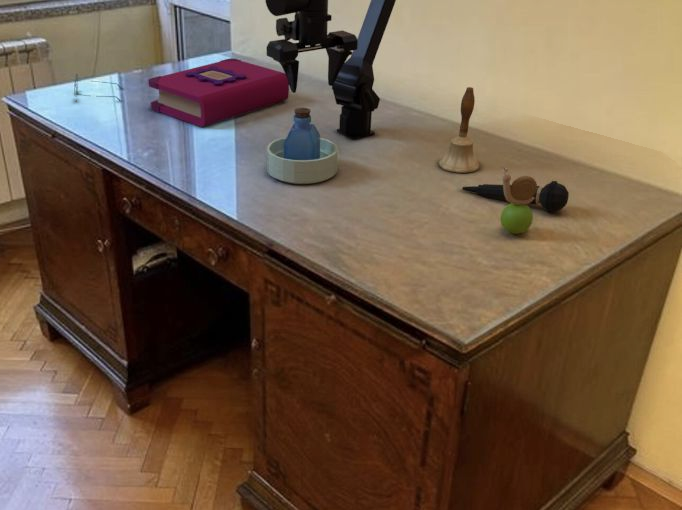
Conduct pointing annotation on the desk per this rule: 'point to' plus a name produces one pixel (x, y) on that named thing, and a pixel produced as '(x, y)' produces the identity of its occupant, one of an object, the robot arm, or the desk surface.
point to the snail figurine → (518, 203)
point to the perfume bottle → (302, 138)
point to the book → (218, 91)
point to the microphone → (548, 196)
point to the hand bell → (462, 141)
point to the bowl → (302, 164)
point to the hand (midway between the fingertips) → (312, 88)
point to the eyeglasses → (93, 81)
